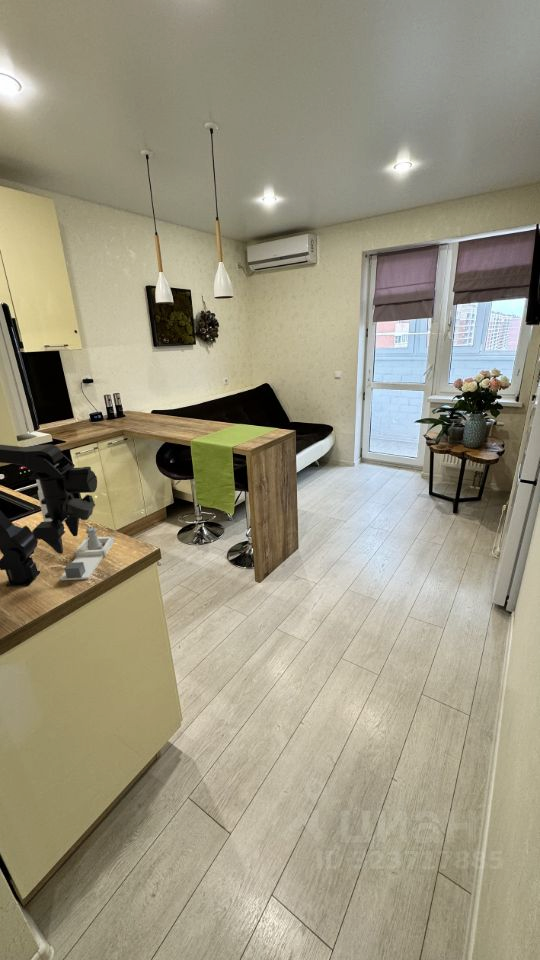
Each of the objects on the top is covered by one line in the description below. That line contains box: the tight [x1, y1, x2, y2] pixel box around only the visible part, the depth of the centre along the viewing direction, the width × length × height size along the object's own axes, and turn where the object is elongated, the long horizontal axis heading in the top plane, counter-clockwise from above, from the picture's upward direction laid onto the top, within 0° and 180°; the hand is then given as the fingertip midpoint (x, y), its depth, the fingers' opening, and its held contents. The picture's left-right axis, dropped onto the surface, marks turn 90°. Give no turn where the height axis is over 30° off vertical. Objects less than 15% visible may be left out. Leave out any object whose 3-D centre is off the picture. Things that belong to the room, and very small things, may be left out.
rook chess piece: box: [85, 526, 104, 550], centre depth 121 cm, size 4×4×8 cm
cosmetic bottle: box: [35, 480, 52, 522], centre depth 131 cm, size 6×6×22 cm
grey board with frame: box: [59, 536, 115, 581], centre depth 116 cm, size 9×20×4 cm, turn 3°
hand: (68, 544), depth 105 cm, fingers open, 9 cm apart
